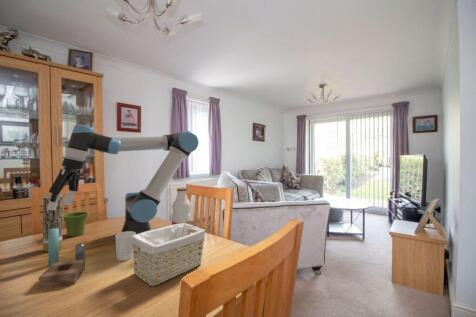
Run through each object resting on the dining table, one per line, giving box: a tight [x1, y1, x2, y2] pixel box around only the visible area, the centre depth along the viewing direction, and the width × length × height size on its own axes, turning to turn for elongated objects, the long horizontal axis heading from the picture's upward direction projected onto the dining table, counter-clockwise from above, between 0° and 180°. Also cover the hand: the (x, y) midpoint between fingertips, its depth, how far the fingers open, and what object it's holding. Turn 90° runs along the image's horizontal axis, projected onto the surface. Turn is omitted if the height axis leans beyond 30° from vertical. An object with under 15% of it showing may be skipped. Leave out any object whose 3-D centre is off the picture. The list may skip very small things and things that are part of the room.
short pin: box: [74, 242, 86, 261], centre depth 91 cm, size 3×3×7 cm
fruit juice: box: [171, 187, 192, 235], centre depth 111 cm, size 9×9×28 cm
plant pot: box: [62, 211, 90, 238], centre depth 121 cm, size 12×12×11 cm
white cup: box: [114, 231, 136, 262], centre depth 96 cm, size 8×8×10 cm
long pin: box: [47, 228, 60, 268], centre depth 88 cm, size 3×3×14 cm
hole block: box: [38, 258, 86, 290], centre depth 79 cm, size 10×10×4 cm
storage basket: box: [132, 223, 206, 287], centre depth 86 cm, size 24×16×15 cm
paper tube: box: [42, 193, 63, 253], centre depth 102 cm, size 7×7×25 cm
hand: (59, 207), depth 95 cm, fingers open, 13 cm apart
